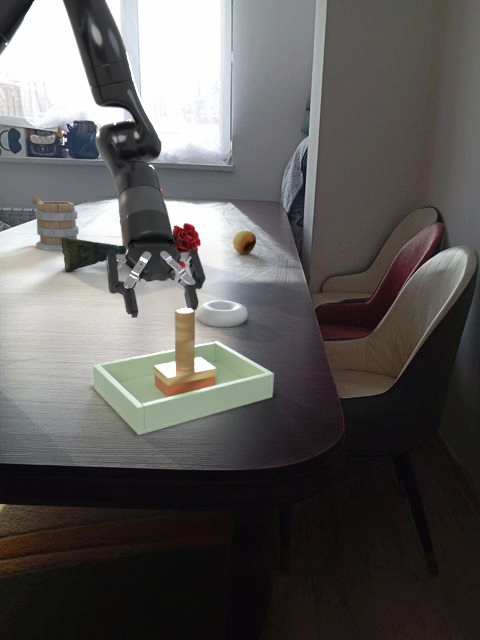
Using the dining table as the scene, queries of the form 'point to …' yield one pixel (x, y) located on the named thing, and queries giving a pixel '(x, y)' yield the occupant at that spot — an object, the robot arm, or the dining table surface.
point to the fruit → (244, 241)
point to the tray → (160, 411)
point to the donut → (222, 313)
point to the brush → (184, 361)
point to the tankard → (54, 223)
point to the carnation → (119, 248)
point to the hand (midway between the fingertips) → (164, 313)
